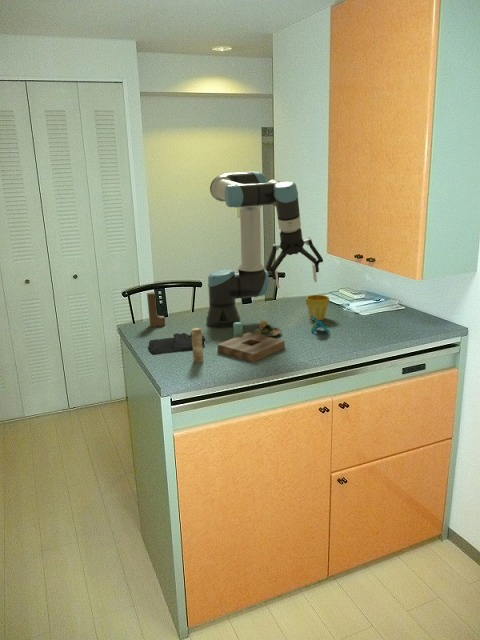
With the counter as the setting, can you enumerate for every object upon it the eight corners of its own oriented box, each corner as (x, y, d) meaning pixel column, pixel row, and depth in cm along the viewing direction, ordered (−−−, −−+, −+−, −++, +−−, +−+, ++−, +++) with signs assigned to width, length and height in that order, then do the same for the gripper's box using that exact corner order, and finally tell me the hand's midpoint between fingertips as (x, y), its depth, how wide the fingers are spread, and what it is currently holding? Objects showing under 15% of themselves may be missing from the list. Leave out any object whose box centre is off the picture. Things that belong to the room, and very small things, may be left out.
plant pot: (332, 316, 233) (333, 295, 230) (323, 322, 225) (323, 301, 222) (311, 314, 238) (311, 293, 236) (302, 320, 230) (301, 298, 227)
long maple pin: (191, 361, 186) (189, 330, 183) (198, 358, 189) (196, 327, 185) (198, 363, 184) (196, 331, 180) (205, 360, 186) (203, 329, 183)
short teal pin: (232, 340, 207) (231, 323, 205) (238, 337, 210) (237, 321, 208) (238, 342, 205) (238, 325, 203) (244, 339, 207) (244, 323, 205)
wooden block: (150, 327, 229) (147, 294, 225) (149, 325, 232) (146, 292, 228) (165, 325, 231) (162, 292, 227) (164, 323, 234) (161, 291, 230)
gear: (332, 332, 206) (314, 315, 205) (322, 342, 207) (304, 326, 206) (327, 327, 217) (310, 311, 216) (318, 337, 218) (301, 322, 217)
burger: (268, 341, 204) (268, 323, 202) (246, 336, 212) (246, 319, 210) (287, 334, 213) (286, 316, 211) (265, 329, 220) (264, 312, 218)
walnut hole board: (217, 351, 195) (217, 344, 194) (249, 339, 207) (248, 332, 206) (253, 362, 183) (253, 354, 182) (284, 348, 196) (284, 340, 195)
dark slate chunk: (147, 344, 208) (146, 333, 207) (200, 337, 213) (200, 327, 212) (151, 356, 194) (150, 344, 193) (208, 349, 199) (207, 337, 198)
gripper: (254, 238, 173) (263, 293, 184) (328, 226, 172) (332, 282, 182) (253, 230, 179) (261, 284, 190) (324, 218, 178) (328, 273, 189)
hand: (296, 283), depth 186 cm, fingers open, 13 cm apart
